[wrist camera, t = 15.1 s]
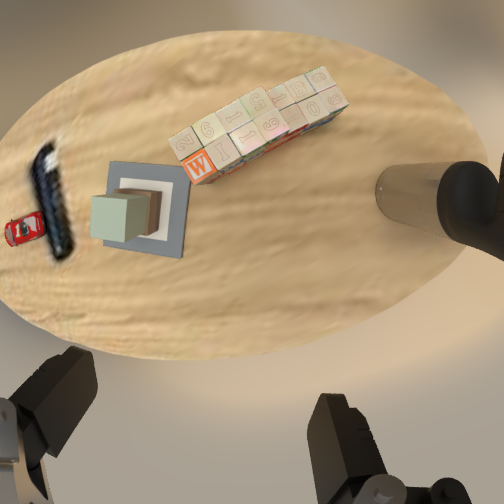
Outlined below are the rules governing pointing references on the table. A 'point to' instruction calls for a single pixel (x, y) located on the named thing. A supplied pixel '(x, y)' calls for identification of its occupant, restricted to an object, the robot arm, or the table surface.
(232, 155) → the stack of blocks
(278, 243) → the table surface
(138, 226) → the sage block
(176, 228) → the board
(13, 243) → the race car
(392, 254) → the table surface
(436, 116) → the table surface
